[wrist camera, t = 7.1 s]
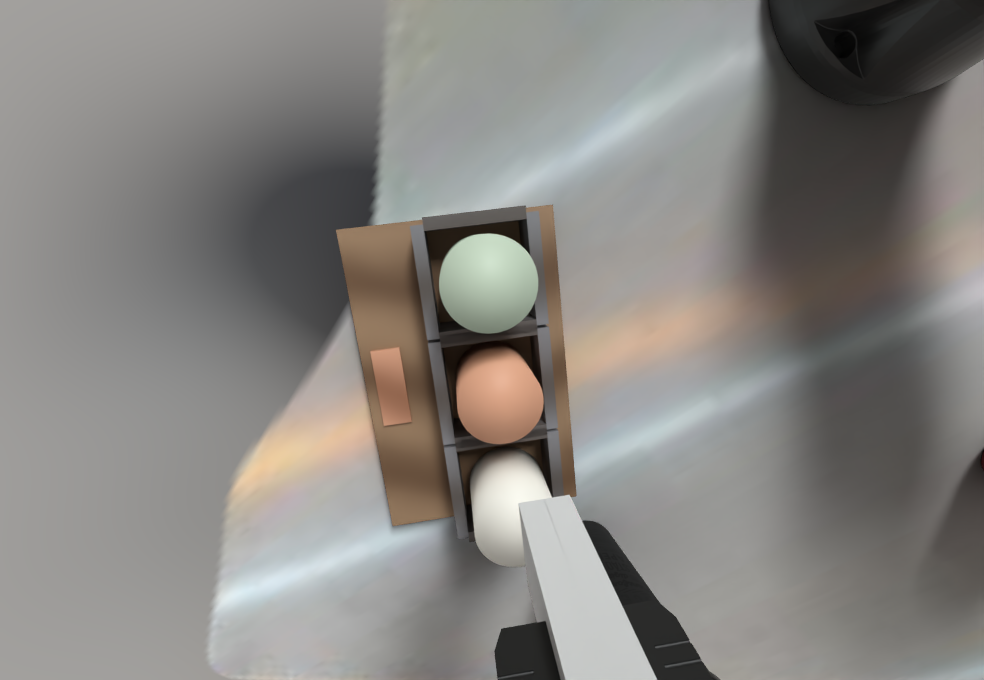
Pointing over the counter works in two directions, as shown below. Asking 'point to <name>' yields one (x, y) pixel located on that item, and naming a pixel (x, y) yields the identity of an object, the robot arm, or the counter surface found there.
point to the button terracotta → (497, 393)
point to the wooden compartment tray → (448, 358)
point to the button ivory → (504, 502)
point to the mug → (982, 461)
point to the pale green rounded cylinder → (488, 283)
